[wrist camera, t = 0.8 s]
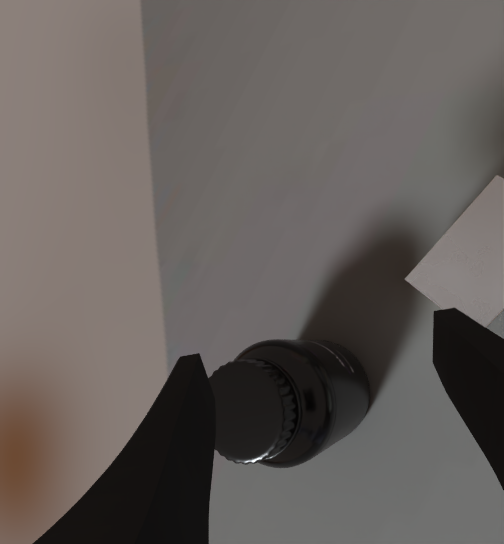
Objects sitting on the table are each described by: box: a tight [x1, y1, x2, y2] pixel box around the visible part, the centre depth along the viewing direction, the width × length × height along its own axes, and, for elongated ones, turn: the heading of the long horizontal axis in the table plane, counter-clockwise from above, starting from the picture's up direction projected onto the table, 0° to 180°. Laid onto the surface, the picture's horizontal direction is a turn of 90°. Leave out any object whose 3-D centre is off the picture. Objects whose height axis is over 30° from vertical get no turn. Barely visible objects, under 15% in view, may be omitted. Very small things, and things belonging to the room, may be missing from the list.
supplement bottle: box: [208, 340, 370, 468], centre depth 25 cm, size 7×7×12 cm
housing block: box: [405, 175, 504, 328], centre depth 24 cm, size 4×7×6 cm, turn 137°
